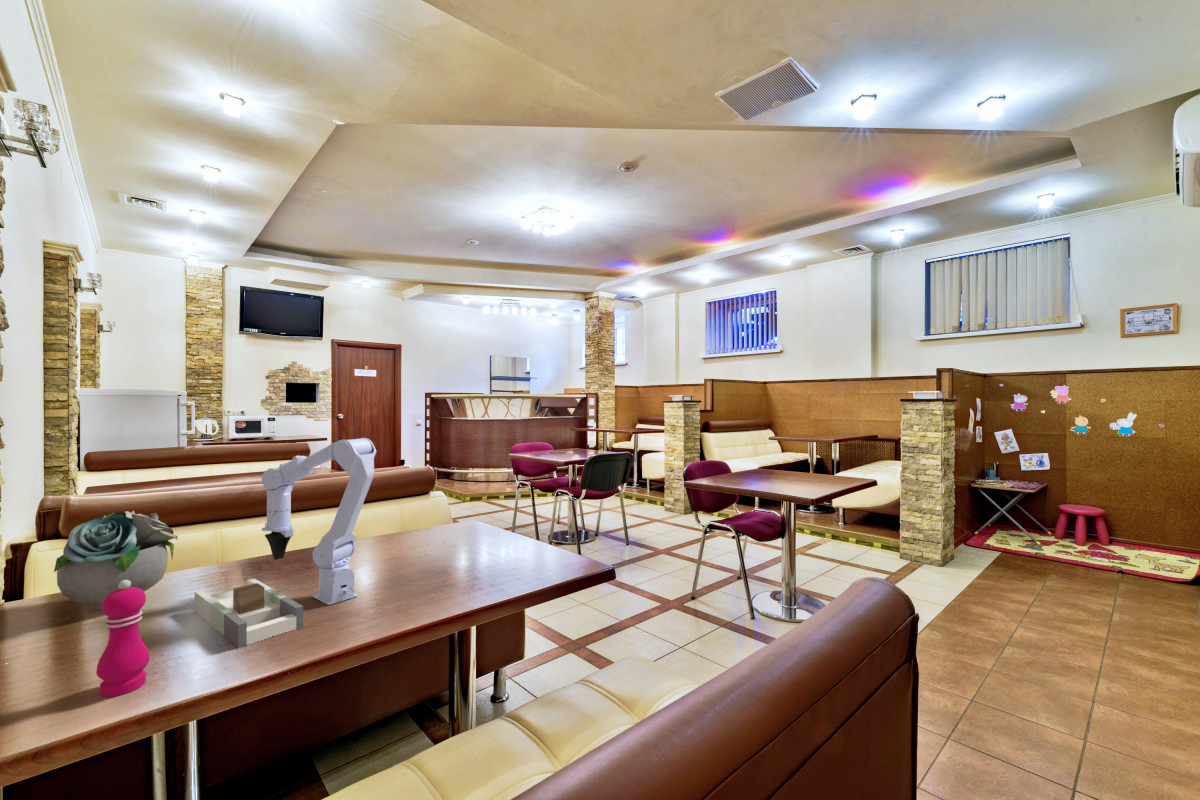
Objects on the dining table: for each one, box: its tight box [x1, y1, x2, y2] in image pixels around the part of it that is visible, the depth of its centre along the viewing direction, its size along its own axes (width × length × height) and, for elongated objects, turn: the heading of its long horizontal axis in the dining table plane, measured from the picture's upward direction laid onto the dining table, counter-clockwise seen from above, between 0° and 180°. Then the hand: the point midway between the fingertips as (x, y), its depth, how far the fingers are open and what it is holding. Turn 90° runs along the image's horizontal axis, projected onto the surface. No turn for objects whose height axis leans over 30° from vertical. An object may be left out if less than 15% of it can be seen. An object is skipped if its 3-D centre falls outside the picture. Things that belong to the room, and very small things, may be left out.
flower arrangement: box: [53, 510, 179, 611], centre depth 133 cm, size 25×25×24 cm
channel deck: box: [193, 577, 304, 649], centre depth 124 cm, size 32×13×5 cm, turn 52°
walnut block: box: [232, 583, 264, 614], centre depth 123 cm, size 5×5×5 cm
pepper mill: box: [95, 580, 150, 698], centre depth 94 cm, size 7×7×20 cm
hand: (278, 558), depth 142 cm, fingers closed
